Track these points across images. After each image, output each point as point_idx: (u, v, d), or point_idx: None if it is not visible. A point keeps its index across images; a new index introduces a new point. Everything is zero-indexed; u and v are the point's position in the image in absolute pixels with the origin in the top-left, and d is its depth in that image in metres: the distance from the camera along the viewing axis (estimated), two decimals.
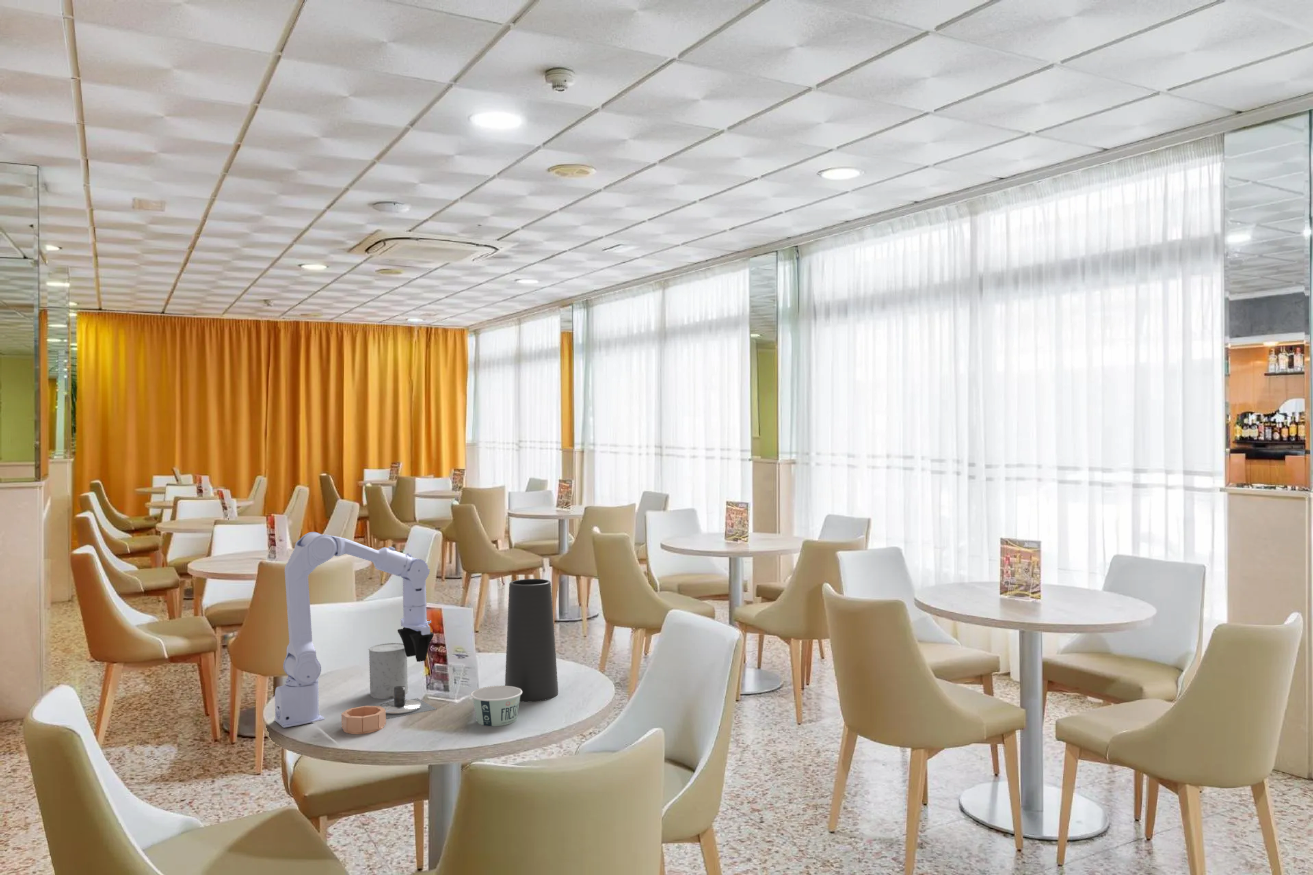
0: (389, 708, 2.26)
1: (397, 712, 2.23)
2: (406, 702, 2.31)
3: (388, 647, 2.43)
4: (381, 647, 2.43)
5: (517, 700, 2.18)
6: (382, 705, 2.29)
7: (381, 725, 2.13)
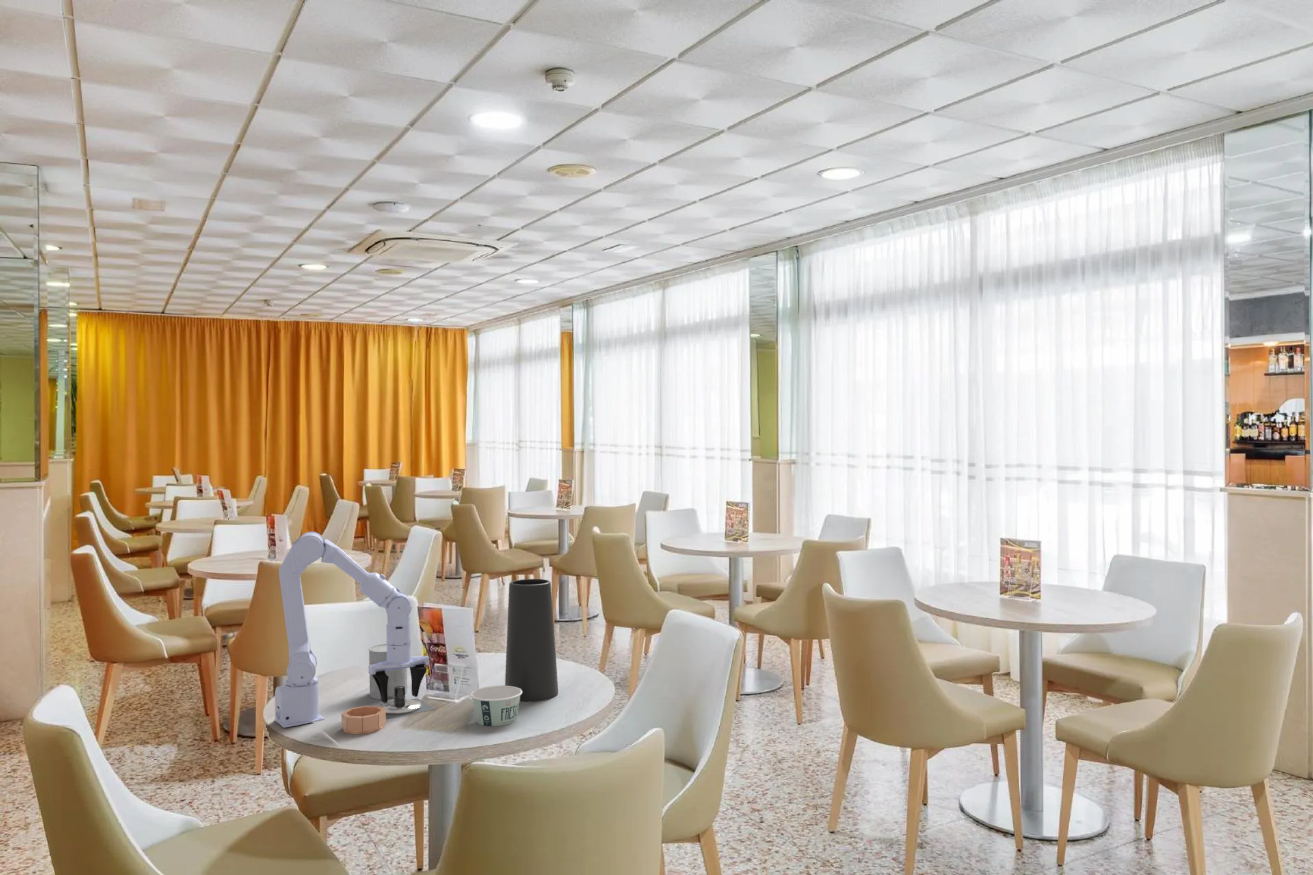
0: (389, 708, 2.26)
1: (397, 712, 2.23)
2: (406, 702, 2.31)
3: None
4: (381, 647, 2.43)
5: (517, 700, 2.18)
6: (382, 705, 2.29)
7: (381, 725, 2.13)
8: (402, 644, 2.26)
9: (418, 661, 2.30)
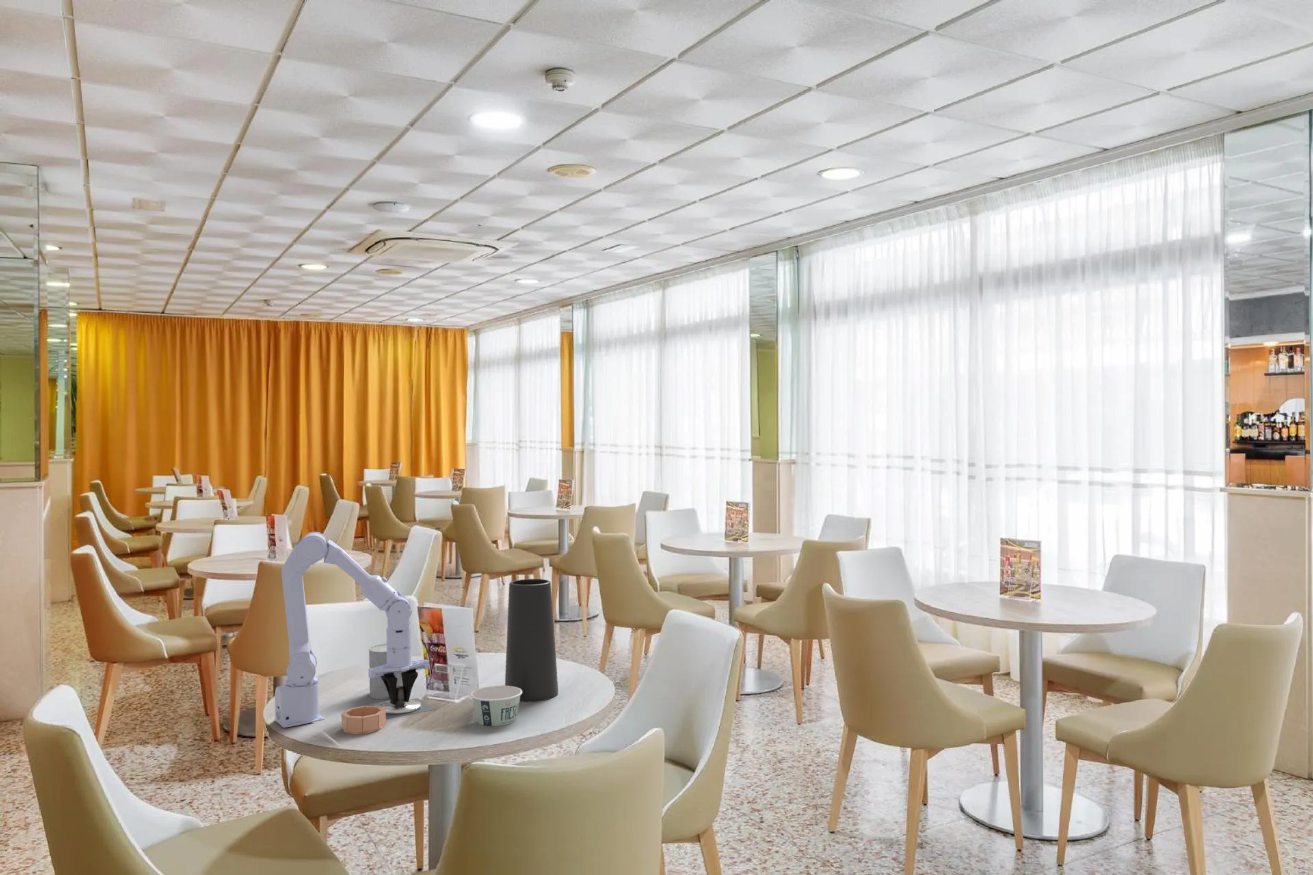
0: (389, 708, 2.26)
1: (397, 712, 2.23)
2: (406, 702, 2.31)
3: None
4: (381, 647, 2.43)
5: (517, 700, 2.18)
6: (382, 705, 2.29)
7: (381, 725, 2.13)
8: (402, 648, 2.26)
9: (418, 665, 2.30)
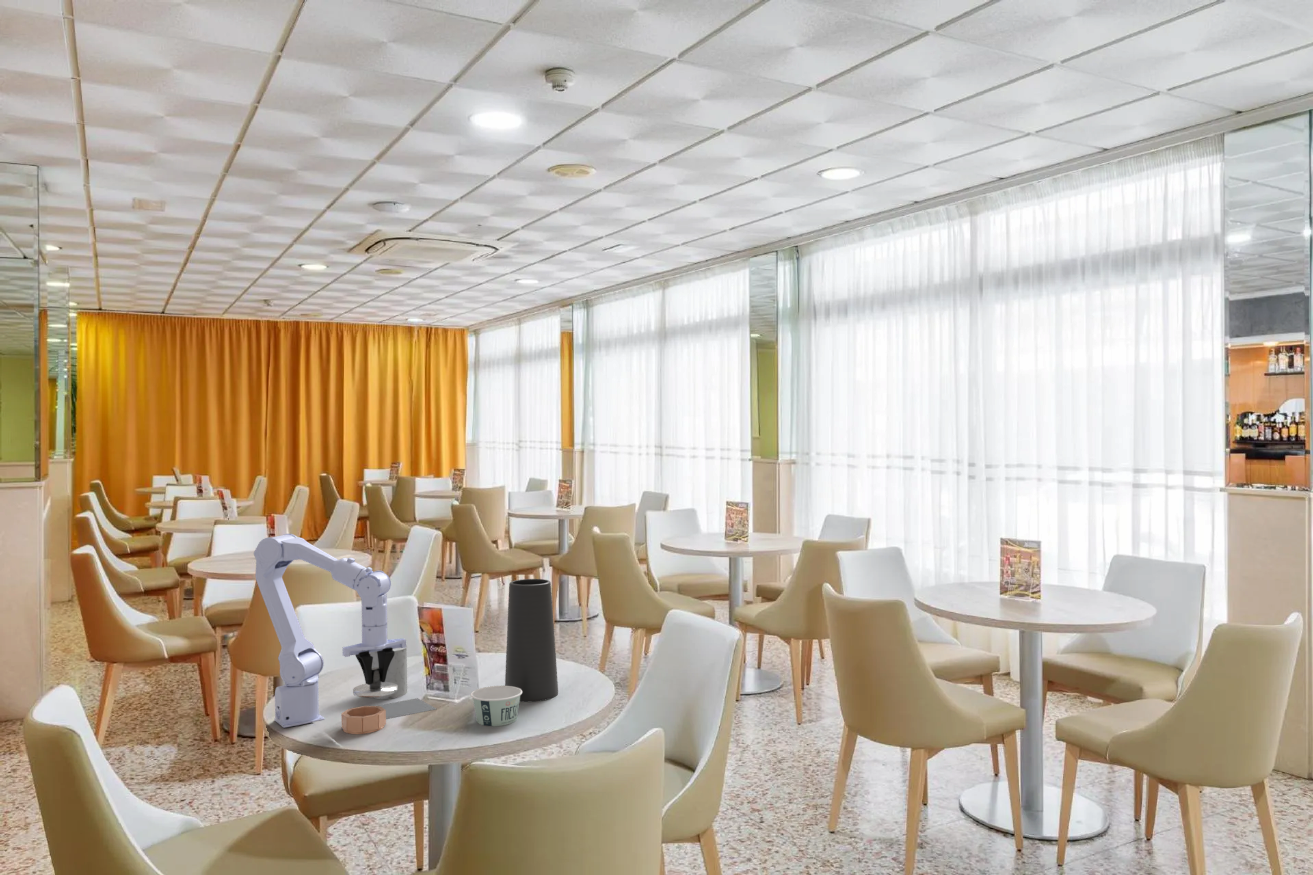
0: (363, 690, 2.16)
1: (371, 695, 2.14)
2: (383, 685, 2.21)
3: None
4: None
5: (517, 700, 2.18)
6: (357, 687, 2.19)
7: (381, 725, 2.13)
8: (378, 625, 2.16)
9: (395, 643, 2.20)
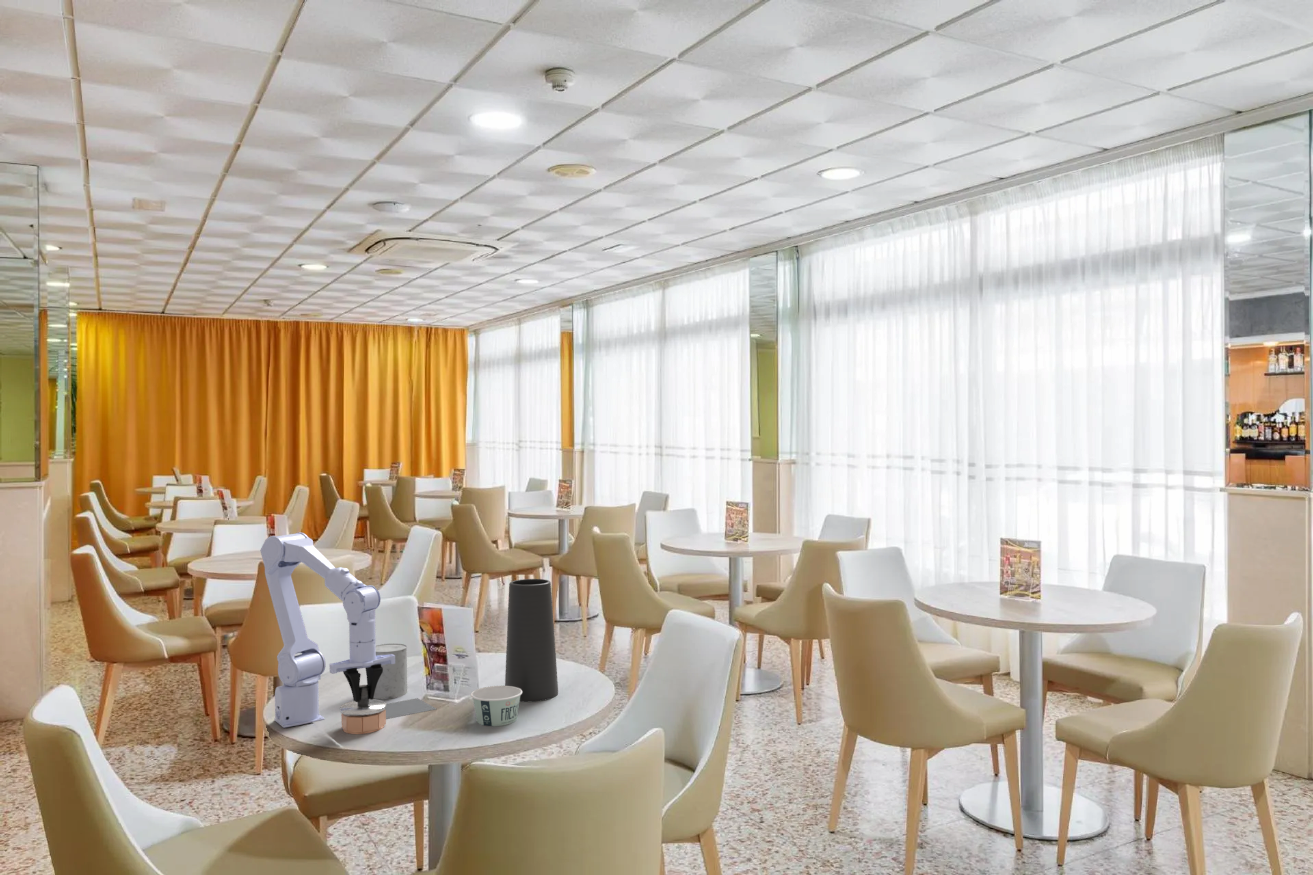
0: (351, 708, 2.12)
1: (357, 713, 2.09)
2: (372, 702, 2.16)
3: (388, 647, 2.43)
4: (381, 647, 2.43)
5: (517, 700, 2.18)
6: (346, 704, 2.15)
7: (381, 725, 2.13)
8: (366, 641, 2.12)
9: (383, 660, 2.15)
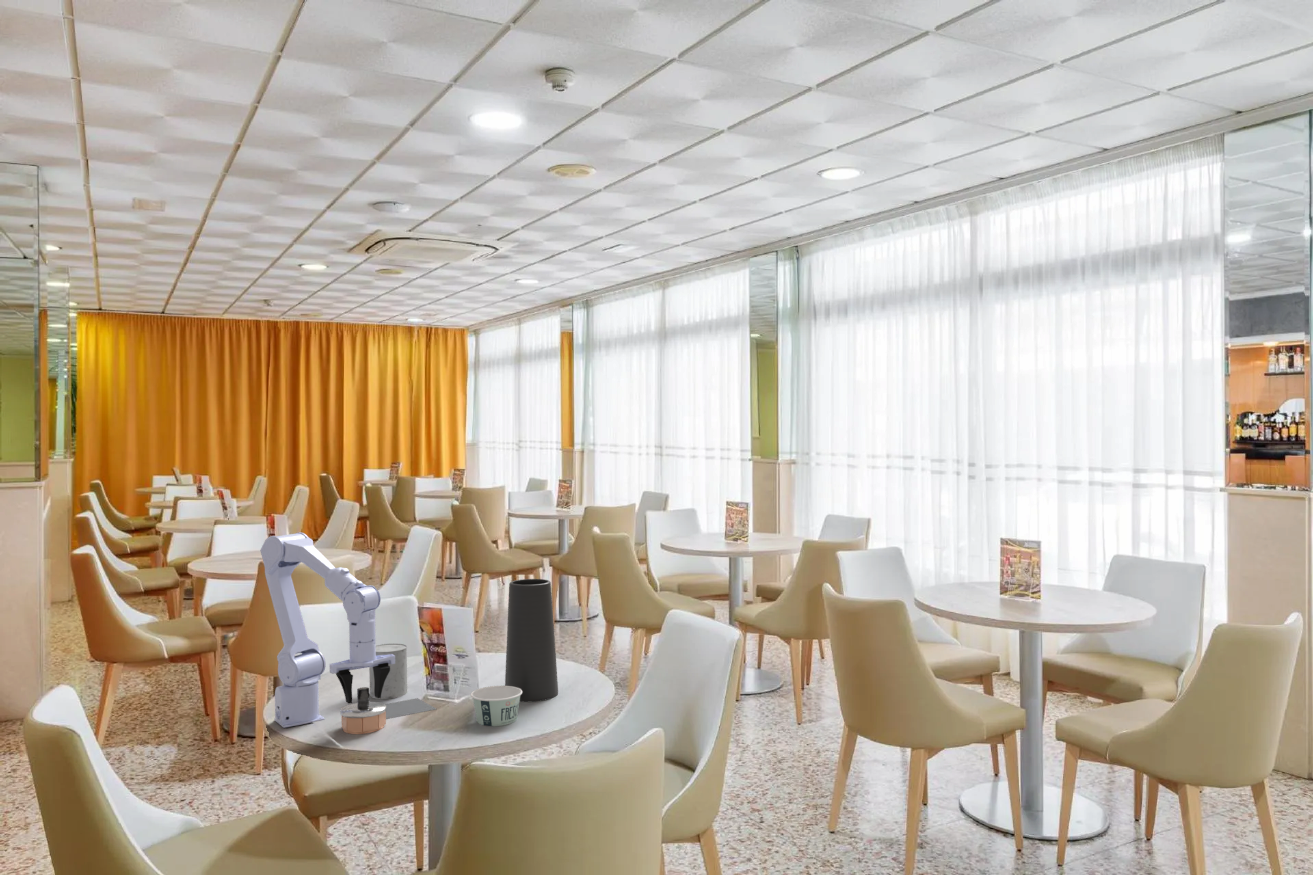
0: (351, 711, 2.12)
1: (357, 715, 2.09)
2: (372, 705, 2.16)
3: (388, 647, 2.43)
4: (381, 647, 2.43)
5: (517, 700, 2.18)
6: (346, 707, 2.15)
7: (381, 725, 2.13)
8: (366, 641, 2.12)
9: (383, 660, 2.15)
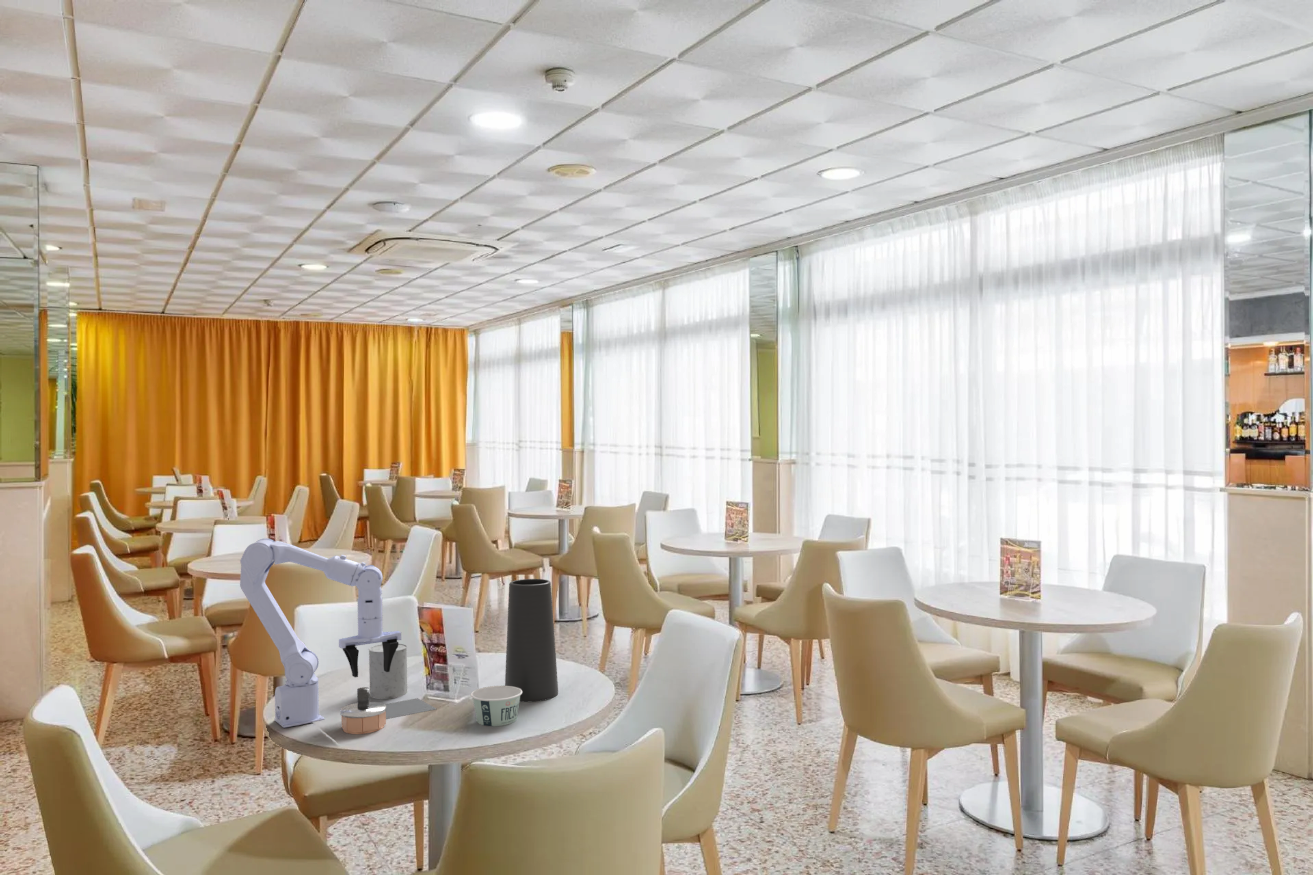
0: (351, 711, 2.12)
1: (357, 715, 2.09)
2: (372, 705, 2.16)
3: None
4: (381, 647, 2.43)
5: (517, 700, 2.18)
6: (346, 707, 2.15)
7: (381, 725, 2.13)
8: (373, 618, 2.22)
9: (390, 636, 2.26)
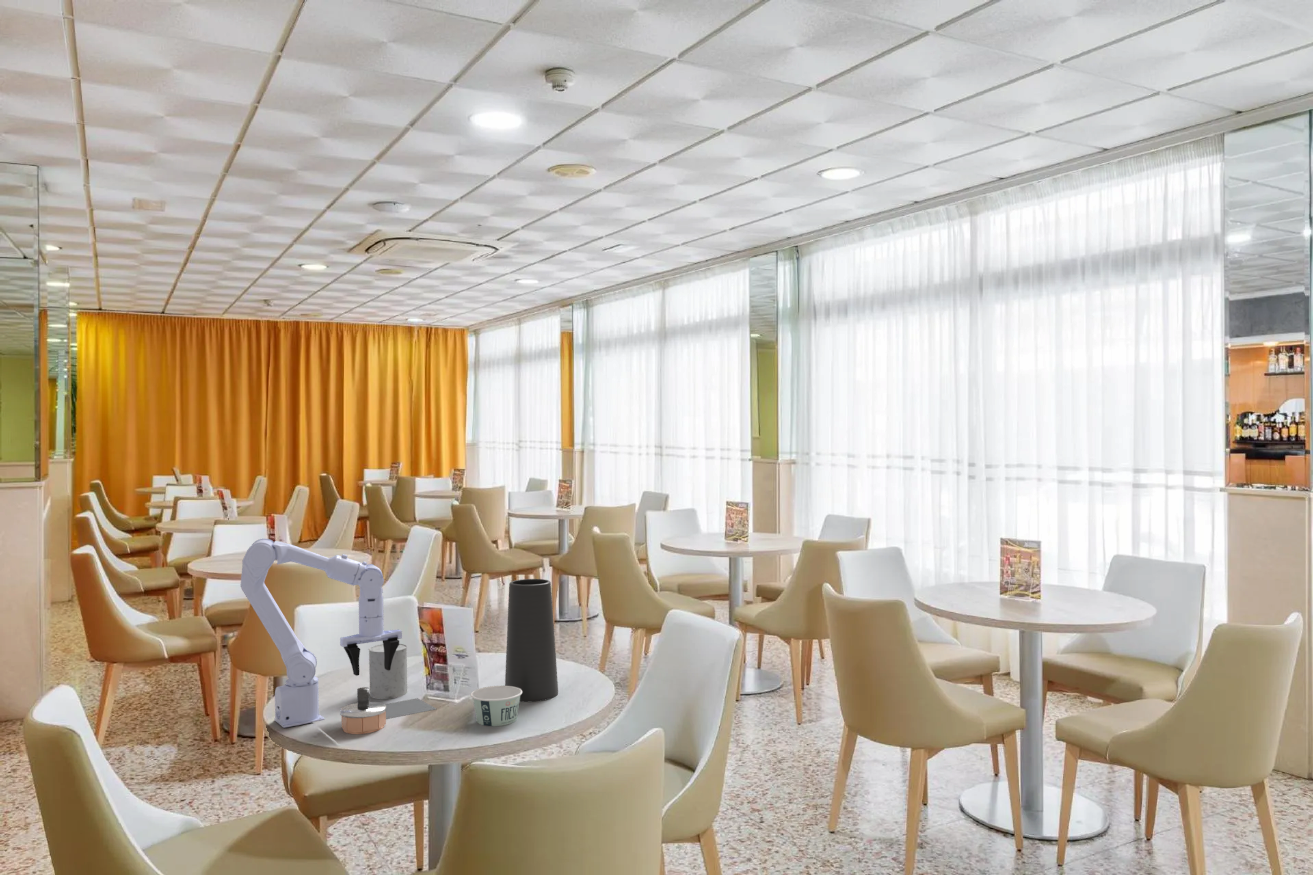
0: (351, 711, 2.12)
1: (357, 715, 2.09)
2: (372, 705, 2.16)
3: None
4: (381, 647, 2.43)
5: (517, 700, 2.18)
6: (346, 707, 2.15)
7: (381, 725, 2.13)
8: (374, 616, 2.24)
9: (391, 634, 2.28)
